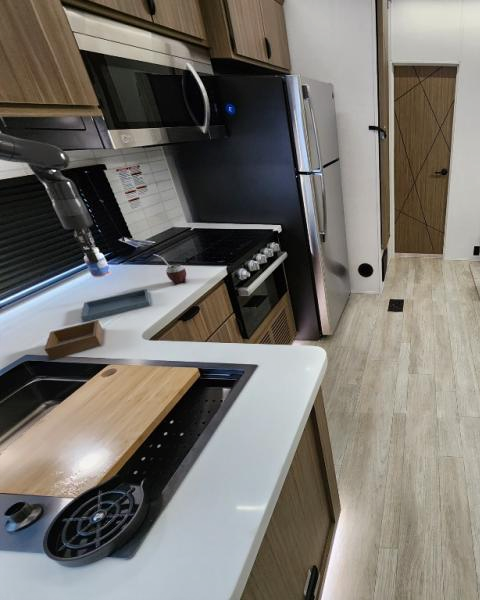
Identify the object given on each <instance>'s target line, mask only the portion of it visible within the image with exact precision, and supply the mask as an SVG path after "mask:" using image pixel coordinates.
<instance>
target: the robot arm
mask: <svg viewBox="0 0 480 600" xmlns="http://www.w3.org/2000/svg"><path fill="white" fill-rule="evenodd" d="M0 160H1V161H5V162H11V163H20V164H21V163H23V164H27V166H28V167H29V169H30V170H31V171H32V173H33V174H34V175H35V176H36V178H37V179H38V180H39V181H40V183H42V185H43V186H44V187H45V190H46V193H47V195H48V197H49V199H50V200H51V203H52V207H53V209H54V211H55V213H56V215H57V217H58V219H59V221H60V223H61V225H62V227H63V229H65V230H74V233H73V236H74V239H75V240H76V242H77V244H78V247H80V249H81V251H82V254H84V253H85V254H86V255H87V258H88V260H89V262H90V263H91V264H95V263H98V259H97V257H96V255H95V252H94V250H93V247H96V242H95V239H94V237H93V235H92V231H91V230H90V228H89V227H92V226H93V225H94V222H93V220H92V217H91V215H90V213H89V211H88V209H87V206H86V204H85V202H84V201H83V199H82V197H81V195H80V194H79V190H78V189H77V186H76V184H75V183H74V181H73V180H72V179H71V178H68V177H65V176H64V175H63V173H62V172H61V171H62V170H65V169H67V168H68V167H69V166H70V163H71V160H70V157H69V155H68V154H67V152H65V151H64V149H63V150H62V148H60V147H58V146H55V145H52V144H49V143H45V142H40V141H35V140H29V139H24V138H19V137H15V136H12V135H9V134H5V133H3V132H0ZM86 248H89V249H86ZM85 254H84V255H85Z"/></svg>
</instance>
